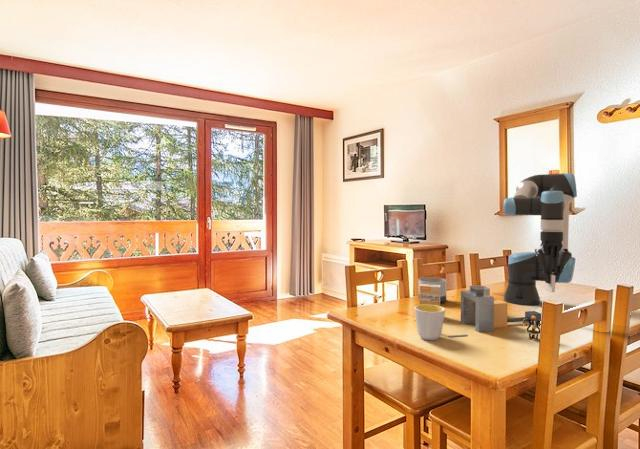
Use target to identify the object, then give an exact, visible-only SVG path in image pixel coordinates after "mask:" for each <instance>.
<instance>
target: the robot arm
mask: <svg viewBox="0 0 640 449" xmlns="http://www.w3.org/2000/svg"><path fill="white" fill-rule="evenodd" d="M515 190H516V192H515V194H514V195H513V197H507V198H504V200H503V214H504V215H506V216H540V230H541V231H540V233H539V234H540V241H541V244H540V246H539V247H538V248H535V249H534V251H524V252H523V251H522V252H516V253H512V254H509V255H508V263H507V266H508V267H507V268H508V269H507V271H508V272H507V273H508V274H507V275H508V276H507V286H506V289H505V292H504V294H503V300H504V302H506V303H510V304H516V305H521V306H522V305H523V306H524V305H527V306H533V305H539V304H540V303H541V298H540V295H539V292H538V289H537V286H536V284H537V281H539V282H545V286H546V288H545V289H546V291H545V292H548V293H556V283H558V284H561V283H564V284H569V283H571V282H572V280H573V278H574V272H575V266H576V258H575V257H573V254H572V252H571V251H570V250H569V225H570V223H569V220H570V219H569V218H570V204H571V203H572V202H573V201H574V199H575V198H577V197H578V196H577V195H578V190H577V182H576V177H575V174H573V173H564V172H563V173H550V174H547V173H546V174H535V175H532V176H528V177H526V178H524V179H523V180H521V181H520V182H519V183H518V184H517V186H516V189H515Z"/></svg>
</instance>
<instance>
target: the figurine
mask: <svg viewBox="0 0 640 449" xmlns="http://www.w3.org/2000/svg"><path fill="white" fill-rule="evenodd" d="M531 318H532V321H530V320H529V319H527V318H526V319H524V320H523V322H522V323H523V324H522V325H523V326H524V327H527V328H526V331H525V332H526V333H528V337H527V338H528V340H532V341H534V340H535V341H539V339H540V338H539V335H540V333H541V328H540V325H541V324H538V322H540V321H541V320H538V321H537V323H536V322H535V319H536V317H535V316H532V317H531ZM525 320H528V321H529V323H527V322H525ZM530 328H531V329H530ZM537 329H538V330H537ZM535 341H534V342H535Z"/></svg>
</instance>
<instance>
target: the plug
mask: <svg viewBox="0 0 640 449" xmlns="http://www.w3.org/2000/svg"><path fill="white" fill-rule="evenodd" d="M541 314H542V313H541V312H538V311H535V310H527V311H524V316H523V317H509V318H508V302H507V301H503V300H500V299H494V329H495V328H496V329H497V328H507V327H508V323H523V320H524V319H526V318H527V319H529V320H530V321H532V318H531V317H532V316H535V317H536V319H535V322H536V323H537V321H538V320H541ZM525 322H526V323H527V324H529V321H528V320H525ZM538 325H540V322H538Z"/></svg>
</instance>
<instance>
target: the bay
mask: <svg viewBox="0 0 640 449" xmlns="http://www.w3.org/2000/svg"><path fill="white" fill-rule="evenodd" d="M444 322H445V320H444V321H443V323H444ZM447 337H448V338H457V337H458V338H459V337H460V338H461V337H468V334H454V335H447Z"/></svg>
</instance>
